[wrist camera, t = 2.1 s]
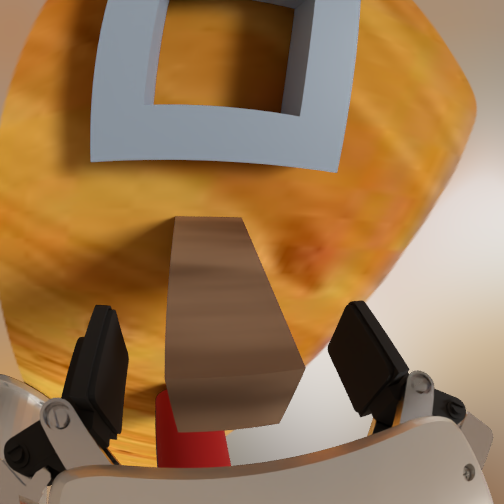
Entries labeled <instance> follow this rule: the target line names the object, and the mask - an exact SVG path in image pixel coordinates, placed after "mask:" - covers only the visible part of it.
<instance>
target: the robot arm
mask: <svg viewBox="0 0 504 504" xmlns="http://www.w3.org/2000/svg"><path fill="white" fill-rule="evenodd" d="M328 353H329V355H330V357H331V359H332V362H333V364H334V366H335V368H336V370H337V372H338V374H339V377H340V379H341V381H342V383H343V385H344V387H345V390H346V392H347V394H348V396H349V398H350V401H351V403H352V405H353V408H354V410H355V411H356V412H358V413H359V415H360V417H363V416H366V415H369V414H372V416H373V420H372V423H371V426H370V430H369V433H368V436H367V437H364V438H362V439H358V440H355V441H353V442H349V443H346V444H343V445H339V446H336V447H332V448H329V449H325V450H321V451H318V452H313V453H309V454H305V455H300V456H296V457H291V458H286V459H280V460H275V461H268V462H262V463H255V464H246V465H237V466H226V467H209V468H156V467H140V466H124V465H121V464H120V463H119V461H118V460H117V459H116V458H115V456H114V455H113V454H112V453H111V451H110V450H109V449H108V447H109V441H110V439H115V440H117V434H120V433H121V430H122V416H123V404H124V394H125V385H126V377H127V369H128V361H129V357H128V352H127V349H126V345H125V342H124V339H123V335H122V332H121V328H120V325H119V321H118V317H117V314H116V311H115V310H112V309H111V306H107V305H96V306H95V308H94V311H93V313H92V316H91V319H90V322H89V325H88V328H87V331H86V334H85V337H80V338H79V339H78V340H77V343H76V346H75V349H74V352H73V356H72V359H71V362H70V366H69V369H68V373H67V377H66V381H65V385H64V389H63V393H62V397H61V398H52V399H49V398H47V397H46V396H45V395H43V394H42V393H40V392H39V391H37V390H35V389H34V388H32V387H30V386H28V385H27V384H25V383H23V382H21V381H18V380H17V379H14V378H12V377H9V376H6V375H2V374H0V504H47V486H50V485H52V486H51V490H50V494H49V502H48V504H493V500H492V497H491V494H490V491H489V488H488V485H487V483H486V480H485V478H484V475H483V473H482V468H483V466H484V463H485V461H486V458H487V455H488V452H489V450H490V447H491V443H492V441H493V433H492V431H491V429H490V428H489V427H488V426H487V425H485V424H484V423H483V422H481V421H480V420H479V419H477V418H476V417H475V416H473V415H472V414H471V413H470V412H467V413H466V409H465V406H464V404H463V402H461V400H459V399H458V398H456V397H453V396H451V395H448V394H446V393H444V392H441V391H439V390H436V389H434V383H433V381H432V379H431V378H430V377H429V375H427V374H426V373H424V372H422V371H413V372H411V373H410V374H409V373H408V371H409V368H408V366H407V365H406V363H405V362H404V360H403V358H402V357H401V355H400V354H399V352H398V351H397V349H396V348H395V346H394V345H393V343H392V341H391V340H390V338H389V337H388V335H387V334H386V333H385V331H384V330H383V328H382V326H381V325H380V323H379V322H378V321H377V319H376V318H375V316H374V315H373V313H372V312H371V310H370V309H369V308H368V306H367V305H366V303H365V302H364V301H352V302H350V303H349V304H348V305H347V306H346V307H345V309H344V312H343V314H342V316H341V319H340V321H339V323H338V325H337V328H336V330H335V332H334V334H333V336H332V338H331V341H330V343H329V345H328Z"/></svg>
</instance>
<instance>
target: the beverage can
mask: <svg viewBox="0 0 504 504" xmlns="http://www.w3.org/2000/svg"><path fill="white" fill-rule="evenodd" d="M155 427H156V454H157V468H209V467H226V466H231V463H230V458H229V453H228V448H227V442H226V437H225V432H224V430H223V431H208V432H178V430H177V426H176V423H175V419H174V415H173V411H172V407H171V403H170V399H169V395H168V391H167V389H166V390H164V391H162V392H161V393H159V394H158V395H157V397H156V405H155Z"/></svg>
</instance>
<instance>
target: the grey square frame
mask: <svg viewBox="0 0 504 504" xmlns="http://www.w3.org/2000/svg"><path fill="white" fill-rule="evenodd" d="M254 1H260V2H266V3H271V4H276V5H280V6H285V7H289V8H293V9H295V12H294V20H293V27H292V35H291V42H290V50H289V57H288V65H287V72H286V79H285V86H284V94H283V101H282V108H281V113H275V112H268V111H260V110H252V109H243V108H232V107H220V106H203V105H154V94H155V84H156V75H157V67H158V60H159V53H160V46H161V40H162V34H163V28H164V23H165V18H166V13H167V8H168V4H169V0H108V2H107V6H106V9H105V14H104V18H103V22H102V27H101V32H100V37H99V43H98V49H97V55H96V62H95V70H94V79H93V90H92V103H91V127H90V155H91V162H102V161H122V160H207V161H228V162H244V163H257V164H269V165H279V166H288V167H297V168H306V169H313V170H321V171H328V172H335V173H337V170H338V165H339V160H340V155H341V150H342V145H343V139H344V134H345V128H346V122H347V116H348V110H349V104H350V97H351V90H352V83H353V76H354V68H355V59H356V50H357V41H358V30H359V17H360V2H361V0H254Z"/></svg>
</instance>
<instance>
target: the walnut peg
mask: <svg viewBox="0 0 504 504" xmlns="http://www.w3.org/2000/svg"><path fill="white" fill-rule="evenodd" d="M304 371H305V365H304V363H303V361H302V358H301V356H300V354H299V351H298V349H297V346H296V344H295V342H294V339H293V337H292V335H291V332H290V330H289V328H288V325H287V323H286V321H285V318H284V316H283V313H282V311H281V309H280V306H279V304H278V302H277V299H276V297H275V295H274V292H273V290H272V288H271V285H270V283H269V281H268V278H267V276H266V274H265V271H264V269H263V267H262V264H261V262H260V260H259V257H258V255H257V253H256V250H255V248H254V246H253V243H252V241H251V239H250V236H249V234H248V232H247V229H246V227H245V225H244V222H243V220H242V218H235V217H178V216H176V217H175V224H174V233H173V241H172V251H171V261H170V271H169V283H168V297H167V314H166V336H165V382H166V387H167V391H168V395H169V399H170V403H171V407H172V411H173V415H174V419H175V423H176V426H177V430H178V432H208V431H223V430H234V429H243V428H252V427H259V426H266V425H272V424H279V423H280V421H281V419H282V417H283V415H284V413H285V411H286V409H287V407H288V405H289V403H290V401H291V399H292V397H293V395H294V392H295V390H296V388H297V386H298V384H299V382H300V380H301V377H302V375H303V373H304Z"/></svg>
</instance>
